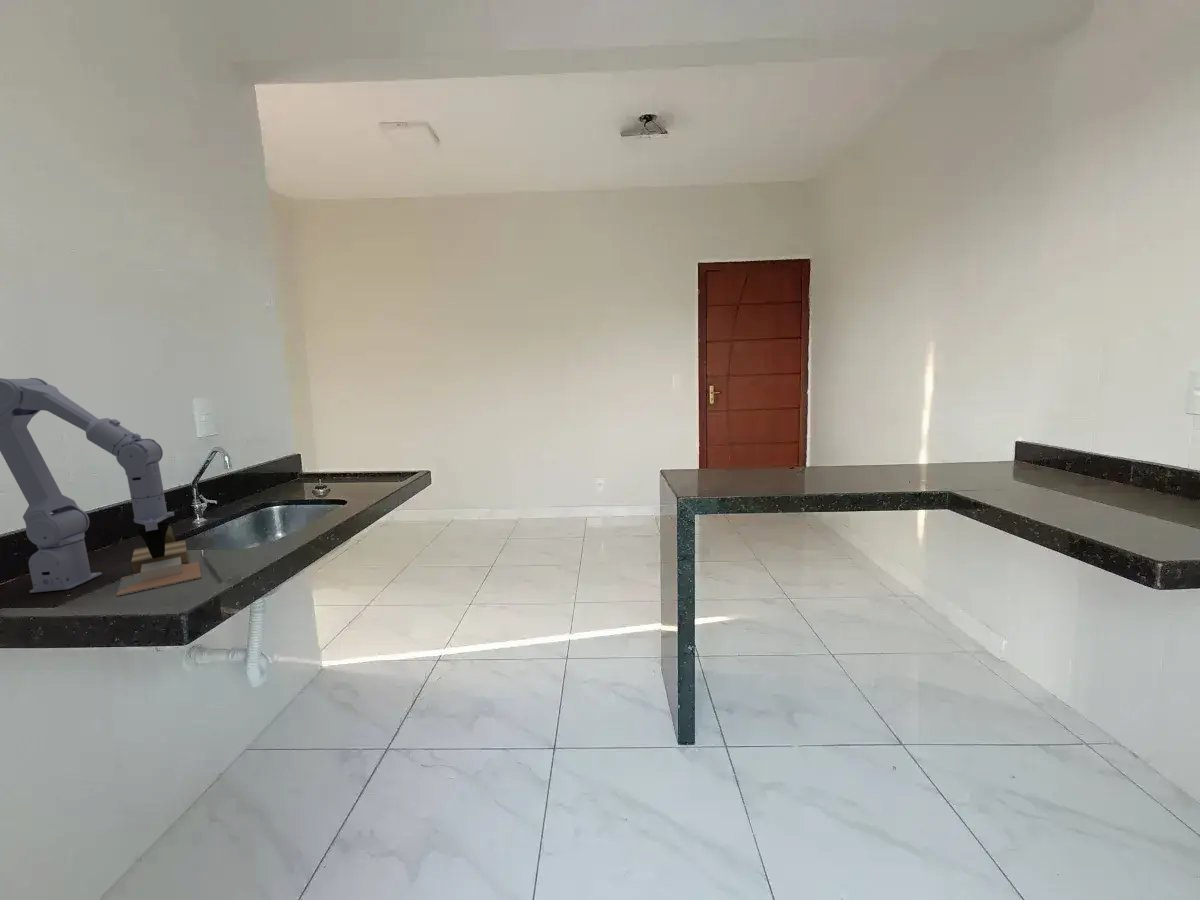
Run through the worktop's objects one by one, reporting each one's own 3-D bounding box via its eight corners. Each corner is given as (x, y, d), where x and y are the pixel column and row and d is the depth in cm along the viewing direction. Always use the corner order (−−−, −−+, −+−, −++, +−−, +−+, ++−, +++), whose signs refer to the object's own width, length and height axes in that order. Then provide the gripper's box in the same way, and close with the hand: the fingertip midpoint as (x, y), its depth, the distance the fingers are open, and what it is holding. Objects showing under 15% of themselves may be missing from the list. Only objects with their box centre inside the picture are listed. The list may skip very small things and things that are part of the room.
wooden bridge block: (136, 561, 142) (134, 549, 142) (187, 551, 148) (185, 540, 148) (133, 575, 131) (131, 562, 131) (188, 564, 137) (186, 551, 136)
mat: (121, 579, 129) (121, 577, 129) (199, 563, 137) (198, 561, 137) (116, 596, 118) (116, 594, 118) (201, 578, 126) (201, 576, 126)
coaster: (143, 573, 131) (141, 564, 131) (182, 565, 135) (180, 556, 135) (142, 581, 125) (140, 572, 125) (182, 572, 129) (181, 563, 129)
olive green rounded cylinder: (140, 527, 154) (144, 536, 146) (168, 518, 158) (173, 527, 149) (149, 548, 156) (153, 558, 147) (176, 539, 159) (181, 549, 151)
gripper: (170, 497, 126) (181, 559, 128) (170, 488, 137) (180, 545, 139) (127, 503, 122) (139, 567, 124) (131, 494, 133) (142, 553, 135)
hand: (158, 556), depth 131 cm, fingers closed
